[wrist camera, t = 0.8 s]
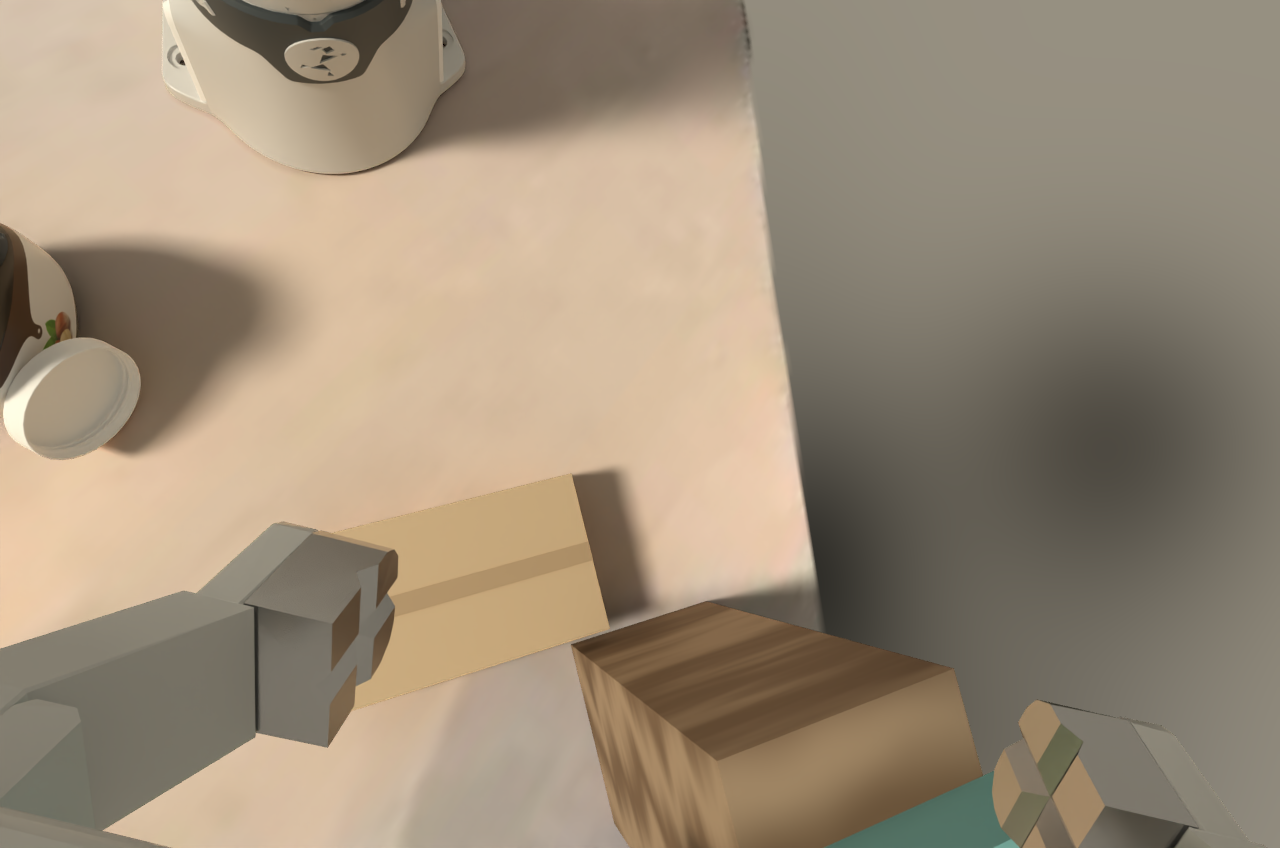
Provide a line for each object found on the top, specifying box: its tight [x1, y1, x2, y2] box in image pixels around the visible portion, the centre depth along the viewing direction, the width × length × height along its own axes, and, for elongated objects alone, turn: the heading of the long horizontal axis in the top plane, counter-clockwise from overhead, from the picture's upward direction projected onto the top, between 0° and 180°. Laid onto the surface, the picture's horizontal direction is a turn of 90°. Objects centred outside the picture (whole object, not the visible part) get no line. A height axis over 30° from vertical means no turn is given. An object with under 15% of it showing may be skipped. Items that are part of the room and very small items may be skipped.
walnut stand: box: [571, 601, 983, 848], centre depth 39 cm, size 12×10×26 cm
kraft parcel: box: [333, 474, 610, 711], centre depth 47 cm, size 10×16×4 cm, turn 104°
